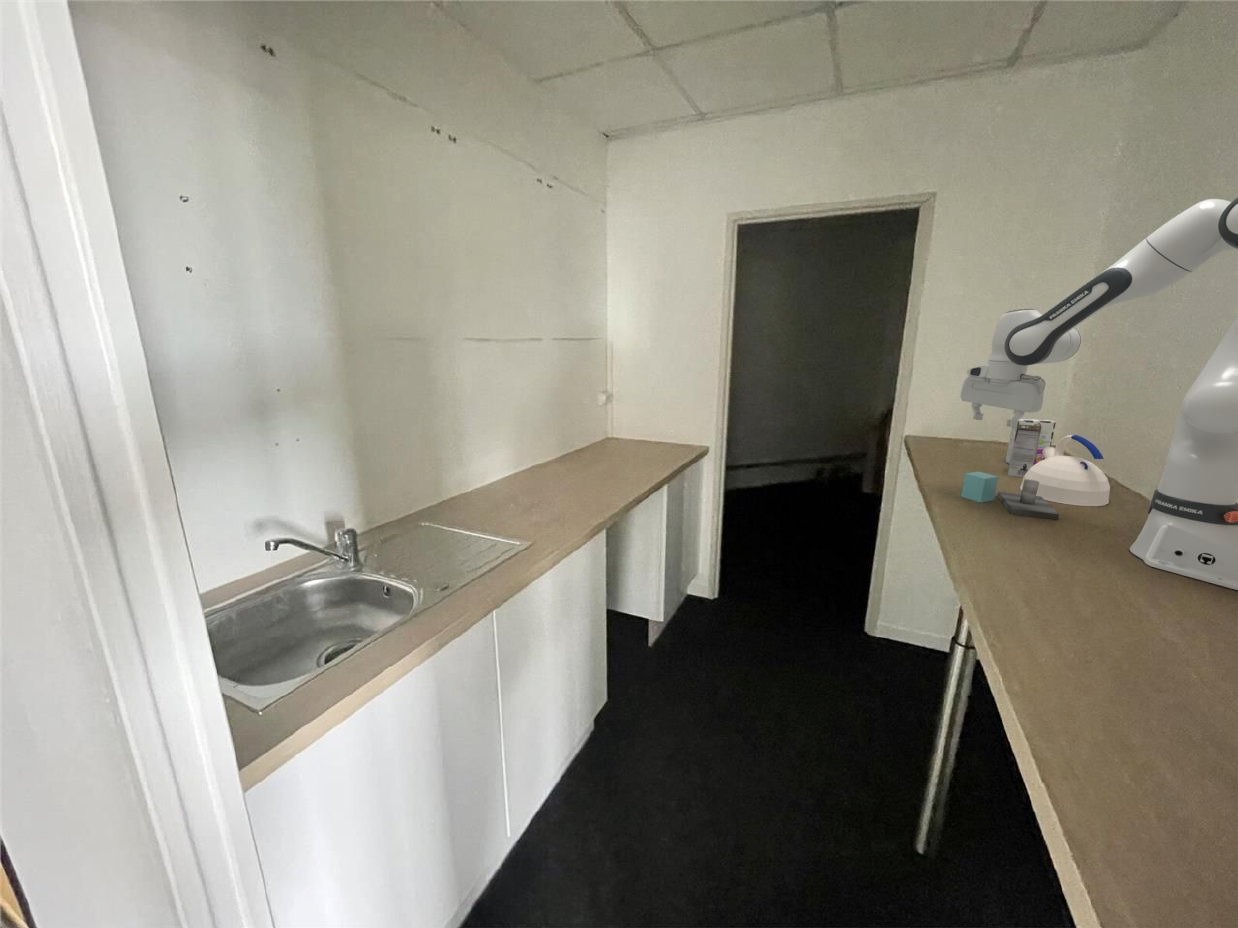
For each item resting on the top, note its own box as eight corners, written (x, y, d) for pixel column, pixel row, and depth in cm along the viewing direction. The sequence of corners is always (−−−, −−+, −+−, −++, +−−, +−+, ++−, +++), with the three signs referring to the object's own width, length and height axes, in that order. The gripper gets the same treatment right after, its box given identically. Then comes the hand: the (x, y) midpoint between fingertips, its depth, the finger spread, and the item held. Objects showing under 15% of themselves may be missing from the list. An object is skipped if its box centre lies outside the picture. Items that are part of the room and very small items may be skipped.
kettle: (1073, 486, 162) (1086, 429, 157) (1129, 508, 142) (1146, 444, 138) (1003, 483, 164) (1015, 427, 159) (1049, 505, 144) (1064, 442, 139)
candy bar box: (1040, 464, 187) (1050, 419, 183) (1046, 467, 182) (1057, 421, 178) (1004, 461, 190) (1013, 417, 186) (1009, 465, 186) (1019, 419, 181)
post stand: (997, 496, 151) (1002, 471, 149) (1039, 501, 147) (1045, 475, 145) (1010, 513, 137) (1016, 486, 135) (1058, 519, 133) (1064, 491, 131)
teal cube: (993, 500, 148) (998, 476, 146) (980, 502, 146) (985, 478, 144) (973, 494, 153) (978, 471, 151) (961, 496, 151) (965, 473, 149)
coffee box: (1007, 469, 180) (1017, 423, 176) (1031, 472, 176) (1041, 426, 172) (1006, 475, 173) (1016, 427, 169) (1031, 478, 169) (1041, 430, 165)
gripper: (1055, 376, 131) (1041, 430, 135) (978, 368, 150) (968, 415, 153) (1038, 377, 129) (1024, 431, 133) (962, 368, 148) (952, 416, 151)
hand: (993, 423), depth 143 cm, fingers open, 8 cm apart
